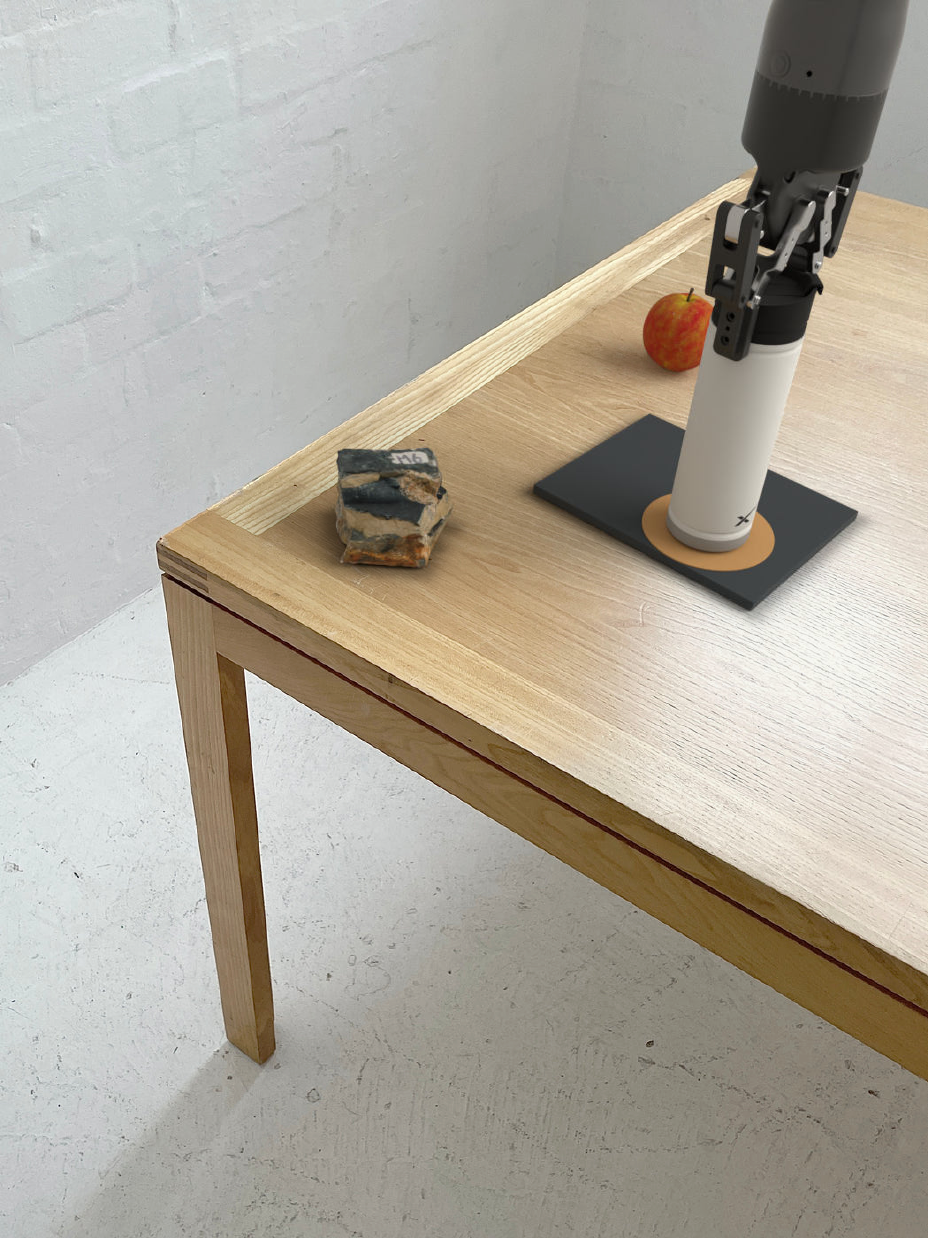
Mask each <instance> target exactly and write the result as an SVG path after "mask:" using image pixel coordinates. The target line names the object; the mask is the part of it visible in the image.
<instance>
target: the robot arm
mask: <svg viewBox="0 0 928 1238" xmlns="http://www.w3.org/2000/svg"><path fill="white" fill-rule="evenodd" d="M909 5H910V0H771V2H770V6H769V9H768V12H767V14H766V15H767V16H766V19H765V24H764V26H763V27H764V28H763V32H762V37H761V41H760V46H759V52H758V56H757V59H756V60H757V61H756V65H755V69H754V75H753V79H752V83H751V88H750V93H749V98H748V103H747V107H746V111H745V117H744V121H743V126H742V131H741V134H740V135H741V136H740V142H741V145H742V147H743V149H744V150H745V151H746V152H747V153H748V154H749V155H751V157H752V158H753V160H754V162H755V163H756V165H757V169H756V171H755V173H754V177H753V178H752V180H751V181H752V182H751V184H750V185H749V188H748V190H747V194H746V197H745V200H743V201H742V202H740V203H739V204H737V203H734V202H731V201H728V200H726V199H725V200H723V201H722V202H720V204H719V206H718V208H717V210H716V214H715V220H714V225H713V226H714V227H713V232H712V233H713V234H712V239H711V241H712V242H711V245H710V246H711V247H710V253H709V259H708V264H707V265H708V267H707V271H706V272H707V273H706V280H705V287H704V294H705V296H708V297H710V298H712V299H714V300H715V299H718V300H720V301H722V302H723V303H722V307H721V312H720V316H719V321H718V325H717V330H716V334H715V339H714V343H713V349H714V351H715V353H717V354H718V355H721V356H723V357H725V358H728V359H730V360H733V361H735V362H738V361H740V360H742V359H743V358H745V357H746V356H747V355H748V351H749V347H750V343H751V339H752V335H753V331H754V327H755V323H756V319H757V315H758V311H759V304H760V302H761V300H762V297H763V295H764V293H765V291H766V289H767V287H768V284H769V282H770V280H771V278H772V277H773V276H774V275H778V274H780V273H781V272H782V271H783V270H784V268H785V267H788V268H792V269H796V270H798V271H801V272H803V273H815V274H818V273H819V272H820V270H821V269H822V267H823V264H824V257H825V258H828V259H833V257H834V256H835V255H836V253H837V252H838V250H839V246H840V243H841V240H842V237H843V235H844V234H843V233H844V230H845V227H846V224H847V221H848V218H849V215H850V212H851V209H852V206H853V203H854V201H855V197H856V194H857V191H858V187H859V185H860V182H861V179H862V176H863V172H864V165H865V164H866V163H867V161H868V159H869V158H870V155H871V152H872V148H873V145H874V141H875V138H876V134H877V131H878V128H879V125H880V120H881V118H882V113H883V111H884V106H885V103H886V100H887V95H888V92H889V89H890V85H891V83H892V78H893V75H894V72H895V69H896V65H897V62H898V58H899V54H900V52H901V47H902V43H903V40H904V35H905V30H906V25H907V19H908V11H909ZM759 247H761V248H764V249H767V250H769V251H773V252H772V254H770V255H765V254H762V253H760V252H758V251H759ZM755 267H757V268H758V273H757V276H756V278H755V280H754V282H753V284H752V279H753V274H754V268H755ZM725 268H727V269H726V271H725ZM724 275H725V276H724ZM723 276H724V278H723ZM751 285H752V287H751Z"/></svg>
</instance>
